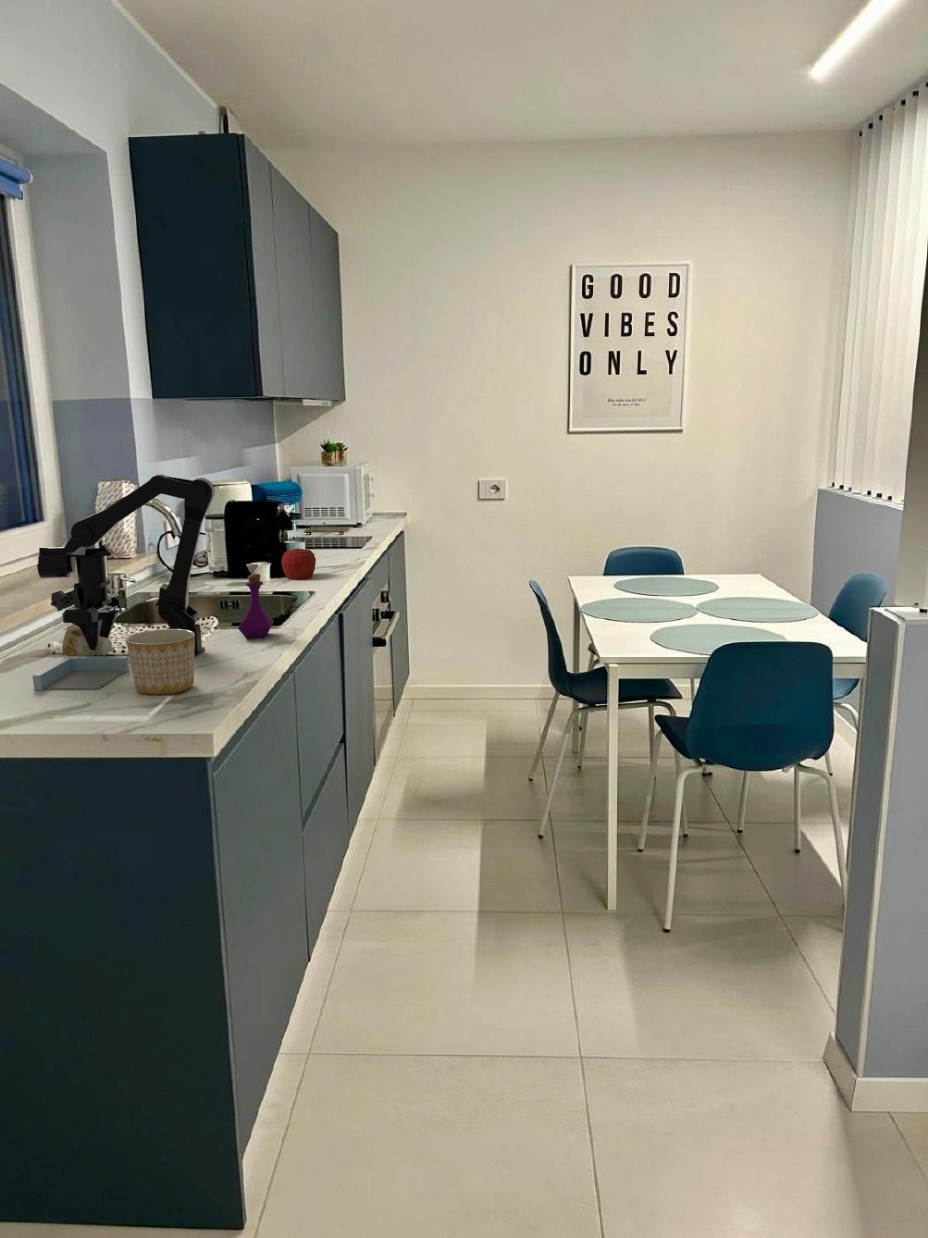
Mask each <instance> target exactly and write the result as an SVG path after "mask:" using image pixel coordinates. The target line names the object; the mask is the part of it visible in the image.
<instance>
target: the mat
mask: <svg viewBox="0 0 928 1238" xmlns="http://www.w3.org/2000/svg"><path fill="white" fill-rule="evenodd" d="M124 673H125V672H124V671H74V672H72V673H70V674H68V675H67V676H65V677H63V678H62V679H60V680H58V681H57V682H55V683H53V684H51V685H50V686H48V687H46V688H45V690H46V691H48V690H49V691H50V690H52V691H53V690H54V691H55V690H56V691H57V690H62V691H63V690H64V691H65V690H68V691H69V690H72V691H73V690H75V691H77V690H82V691H83V690H86V691H87V690H88V691H89V690H90V691H91V690H93V691H94V690H97V691H99V690H100V689H102V688H103V687H105V686H107V685H108V684H110V683H111V682H112V681H114V680H115V679H117V678H118V677H120V676H121V675H123V674H124Z"/></svg>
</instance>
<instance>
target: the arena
mask: <svg viewBox="0 0 928 1238" xmlns="http://www.w3.org/2000/svg"><path fill="white" fill-rule="evenodd" d="M74 671H124V673H127V672H129V671H130V667H129V657H128V656H84V657H69V656H65V657H63V658H62V659H60V660H58V661H56V662H53V664H51V665H49V666H47V667H45V668H43V669H41V670H40V671H38V672H36V673H35V674H33V675H32V683H33V690H34V691H43V690H46V687H48V686H50V685H52V684H53V683H55V682H57V681H58V680H60V679H62V678H63V677H65V676H67V675H68V674H70V673H72V672H74Z"/></svg>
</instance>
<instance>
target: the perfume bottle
mask: <svg viewBox="0 0 928 1238" xmlns="http://www.w3.org/2000/svg"><path fill="white" fill-rule="evenodd" d="M246 567H247V570H248V571H249V573H250V574H249V575H248V576H247V579H248V581H247V582H246V583H245V585H246V586H247V587H248V589H249V590H250V599H249V600H250V602H249V606H248V609H247V611H246V613H245V615H244V617H243V618H242V620H241V622H240V624H239V625H238V629H237V630H239V631H240V633H241V634H242V636H243V638H245V639H246V640H254V639H256V640H257V639H266V638H267V636H268V634H269V632H270V630H271V628H272V627H273V624H274V619H272V618H271V616H269V615H268V614H267V612H266V611H265V610H264V608H263V607H262V604H261V601H260V588H261V586H263V585H264V582H263V581H261V574H260V573H255V571H256V570H257V568H258V567H259V564H257V563H247V564H246Z"/></svg>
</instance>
